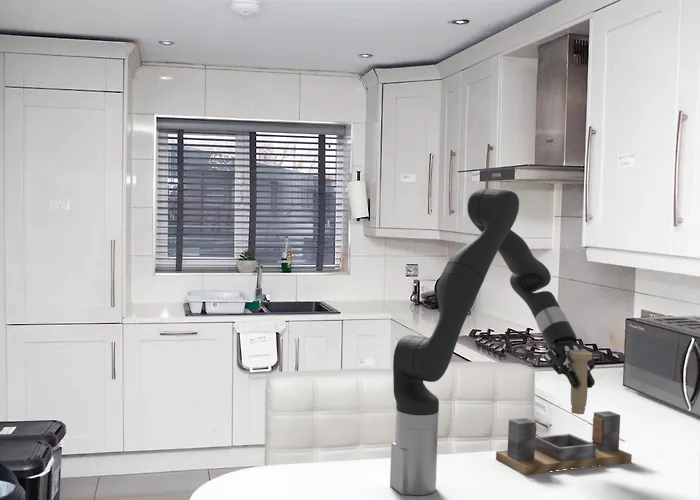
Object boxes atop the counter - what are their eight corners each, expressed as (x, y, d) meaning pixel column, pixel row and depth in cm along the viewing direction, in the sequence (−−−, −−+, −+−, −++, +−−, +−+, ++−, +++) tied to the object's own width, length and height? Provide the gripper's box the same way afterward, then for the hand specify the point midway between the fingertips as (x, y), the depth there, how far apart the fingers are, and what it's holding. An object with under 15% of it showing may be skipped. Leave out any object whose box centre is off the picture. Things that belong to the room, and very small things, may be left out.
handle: (580, 409, 184) (583, 349, 183) (593, 416, 177) (596, 354, 177) (562, 409, 183) (565, 349, 182) (575, 416, 176) (577, 354, 176)
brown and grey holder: (524, 475, 173) (526, 428, 172) (495, 459, 184) (497, 415, 183) (631, 462, 185) (633, 418, 184) (598, 448, 196) (600, 407, 196)
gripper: (538, 320, 183) (568, 379, 173) (585, 319, 189) (616, 376, 178) (525, 338, 189) (553, 396, 178) (570, 336, 194) (600, 393, 183)
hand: (584, 386), depth 178 cm, fingers closed on handle, 3 cm apart
